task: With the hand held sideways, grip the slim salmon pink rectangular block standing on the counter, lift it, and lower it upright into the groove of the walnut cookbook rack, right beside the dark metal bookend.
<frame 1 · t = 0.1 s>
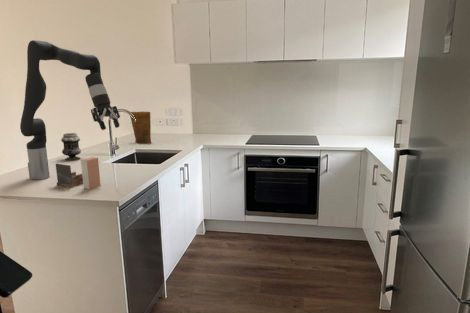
hand: (111, 128, 160), 31 cm above the worktop, tool tilted 20°, fingers open, 8 cm apart
salmon pink rectangular block: (92, 187, 173), on the worktop
cookbook rack: (73, 183, 179), on the worktop
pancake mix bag: (142, 143, 297), on the worktop
dark grey pedestal urn: (72, 159, 236), on the worktop
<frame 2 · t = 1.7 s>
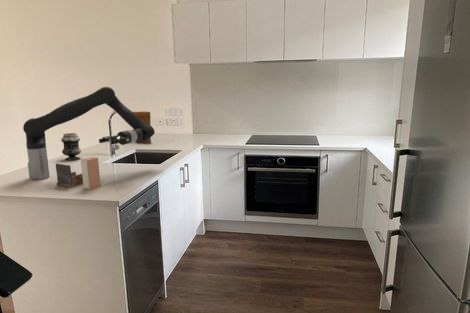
hand: (105, 141, 178), 22 cm above the worktop, tool horizontal, fingers open, 8 cm apart
nothing on the worktop moved.
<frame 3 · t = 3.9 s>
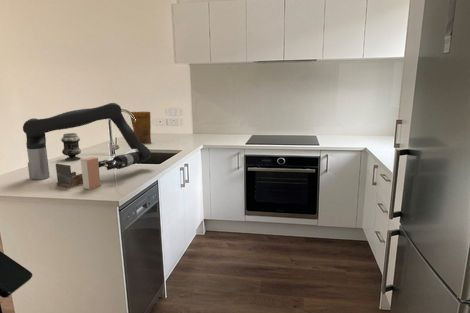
hand: (101, 167, 178), 9 cm above the worktop, tool horizontal, fingers open, 8 cm apart
nothing on the worktop moved.
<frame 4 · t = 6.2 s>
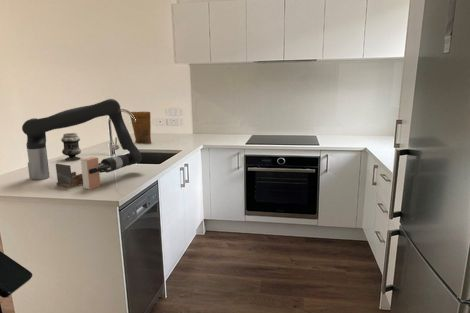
hand: (86, 171, 169), 9 cm above the worktop, tool horizontal, fingers closed on salmon pink rectangular block, 4 cm apart
salmon pink rectangular block: (92, 187, 173), on the worktop, touching gripper
everything else where it was.
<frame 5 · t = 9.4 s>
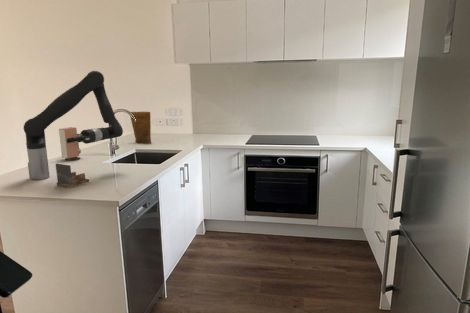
hand: (64, 140, 171), 24 cm above the worktop, tool horizontal, fingers closed on salmon pink rectangular block, 4 cm apart
salmon pink rectangular block: (70, 156, 176), point 15 cm above the worktop, touching gripper
everything else where it was.
when the fingers open (11 cm above the worktop, at t = 12.9 s): salmon pink rectangular block stays where it is, resting on cookbook rack.
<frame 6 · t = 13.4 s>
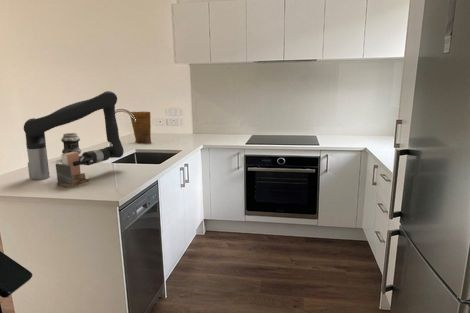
hand: (67, 163, 175), 12 cm above the worktop, tool horizontal, fingers open, 8 cm apart
salmon pink rectangular block: (73, 180, 179), point 2 cm above the worktop, touching cookbook rack
everything else where it was.
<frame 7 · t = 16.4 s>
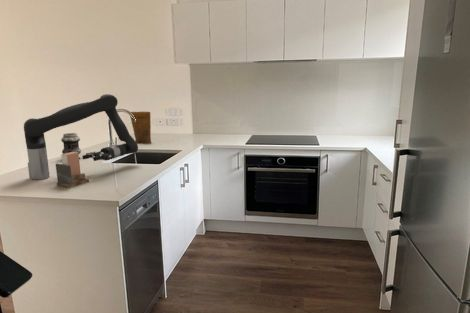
hand: (88, 158, 186), 12 cm above the worktop, tool horizontal, fingers open, 8 cm apart
nothing on the worktop moved.
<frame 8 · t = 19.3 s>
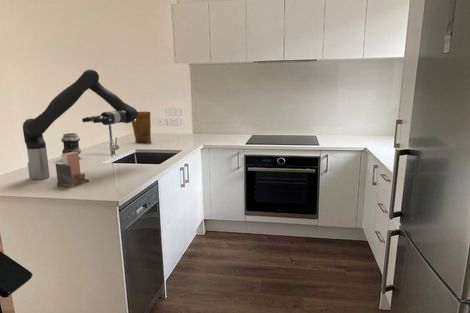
hand: (88, 120, 185), 32 cm above the worktop, tool horizontal, fingers open, 8 cm apart
nothing on the worktop moved.
at the end: salmon pink rectangular block 0.1 cm off-centre on the cookbook rack, point 1.5 cm above the cookbook rack's base; salmon pink rectangular block tilted 0°; the gripper is holding nothing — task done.
